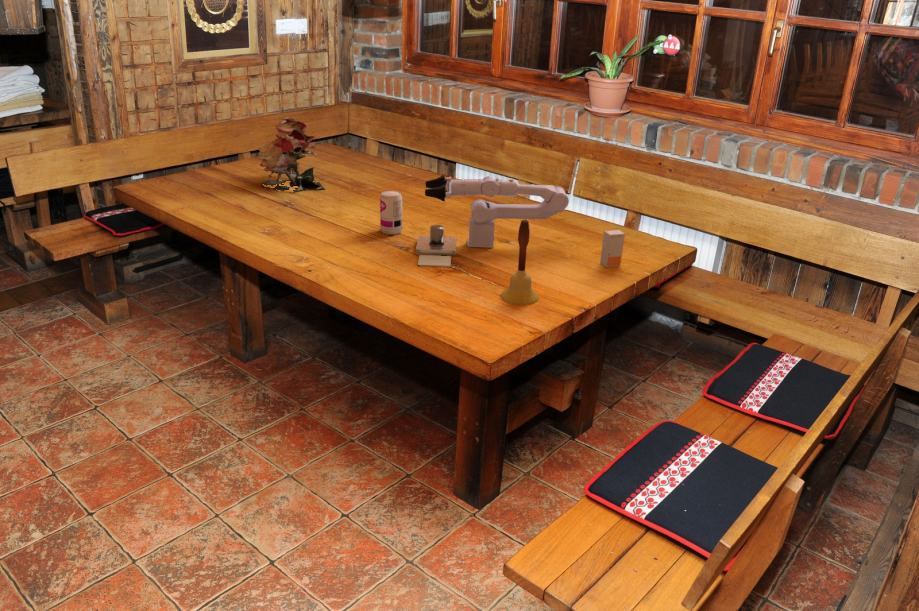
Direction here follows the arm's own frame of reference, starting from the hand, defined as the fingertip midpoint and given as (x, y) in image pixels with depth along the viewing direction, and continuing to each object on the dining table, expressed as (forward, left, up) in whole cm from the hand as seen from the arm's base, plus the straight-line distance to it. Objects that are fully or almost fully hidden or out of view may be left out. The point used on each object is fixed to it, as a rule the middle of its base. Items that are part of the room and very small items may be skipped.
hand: (425, 188), depth 274 cm
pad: (-5, +18, -20) cm, 28 cm away
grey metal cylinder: (-5, +5, -20) cm, 22 cm away
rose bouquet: (+64, -67, -21) cm, 95 cm away
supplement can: (+13, -11, -21) cm, 27 cm away
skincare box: (-66, +15, -21) cm, 71 cm away
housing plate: (-5, +5, -20) cm, 22 cm away
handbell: (-33, +45, -21) cm, 60 cm away
